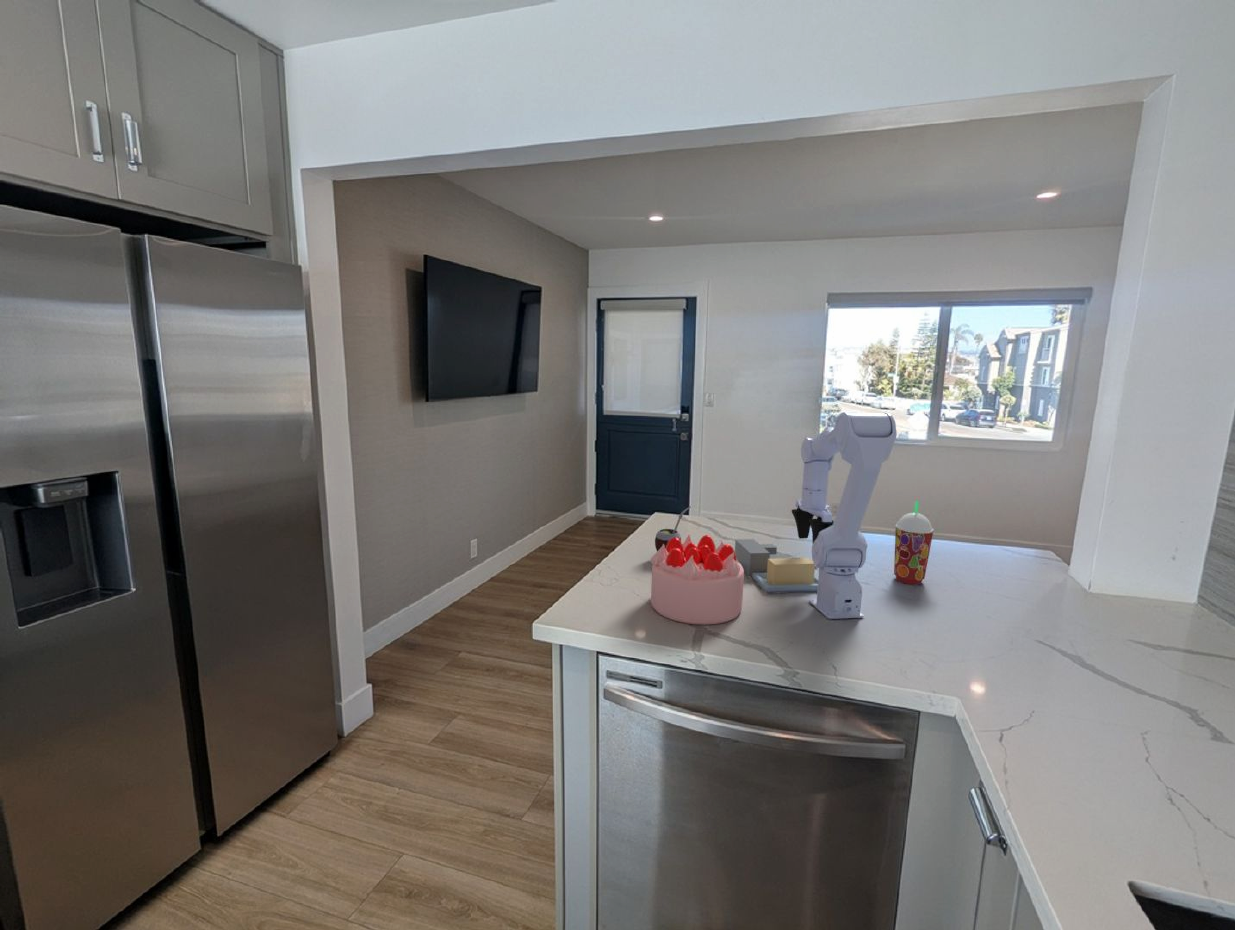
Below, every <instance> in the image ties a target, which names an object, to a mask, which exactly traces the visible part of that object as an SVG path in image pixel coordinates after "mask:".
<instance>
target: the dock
mask: <svg viewBox="0 0 1235 930" xmlns="http://www.w3.org/2000/svg"><path fill="white" fill-rule="evenodd" d="M777 549H778V547H777V546H776V545H774V544H773V543H767V544H766V543H765V544H764V543H762V544H761V543H759V542H758V541H756V540H755V539H754V538H749V539H748V538H746V539H745V538H743V539H740V538H739V539H738V538H737V539H735V542H734V551H735V554H736V557H737V560H738V562H739V563H740V564H741V565H742V567H743V569H744V574H745V573H746V575H747V576H748V577H753V573H767V564H768V559H775V558H791V557H790V556H788V555H787V554H786V553H780V554H779V553H778V552H777V551H778V550H777Z"/></svg>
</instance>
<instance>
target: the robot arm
mask: <svg viewBox="0 0 1235 930" xmlns="http://www.w3.org/2000/svg"><path fill="white" fill-rule="evenodd" d="M823 429H824V430H822V431H821V432H820V433H818V434H817V435H815V437H813V438H809V437H805V438H804V439H803V440H802V443H801V447H800V456H801V460H802V461H803V472H802V486H801V498H796V499H795V507H796V508H794V509H791V514H792V515H793V517H794V521H795V525H796V530H797V536H798V539H799V540H800V539H801V540H803V539H809V538H808V537H809V535H810V530H811V534H812V537H811V538H812V546H811V559H812V561H813V562H814V564H815V566H816V567H817V568H818V577H819V578H818V590H817V593H816V598H809V599H808V602H809V604H811V605H812V606H814V608H816V609H817V610H818V611H819V612H820V613H821V614H823V616H825V617H826V618H827V619H829V620H837V619H839V620H841V619H856V618H857V619H859V618H860V619H861V618H865V615H864V614H863V613H862V612H861V608H862V599H863V597H862V596H863V588H862V585H861V584H860V582H859V581H858V580H857V578H856V573H859V569H862V568H863V566H864V565H865V563H866V560H867V549H868V543H867V540H866V537H865V535H864V534H863V533H862V532H861V531H860V528H861V526H862V523H863V521H864V518H865V516H866V515H865V514H866V512H867V509H868V506H869V504H870V500H871V497H872V495H873V492H874V490H875V486H876V484H877V481H878V478H879V475H880V472H881V469H882V466H883V463H885V462H887V461H888V460H889V459H890V458H889V457H890V455H891V453H892V451H893V447H894V445H895V441H896V439H897V432H898V431H897V424H896V420H895V418H894V416H893V415H892V414H891V413H890V412H883V413H863V412H862V413H861V412H860V413H857V412H852V413H851V412H849V413H848V412H846V411H843V412H841V413H839V415H838V416H837V417H836V419H835V424H834V427H833V426H825V428H823ZM838 453H840V456H841V459H842V460H844V462H847V463H849V464H850V465H851V466H850V469H849V473H848V476H847V479H846V482H845V486H844V488H843V491H842V495H841V498H840V501H839V504H838V506H837V507H838V508H837V511H836V513H835V517H834V520H833V513H832V512H830V511H829V510H831V506H830V505H827V497H828V484H829V475H830V474H829V471H831V470H832V464H833V461H834V459H835V455H837V454H838ZM814 516H815V517H816V518H814Z"/></svg>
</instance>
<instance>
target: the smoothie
mask: <svg viewBox="0 0 1235 930" xmlns="http://www.w3.org/2000/svg"><path fill="white" fill-rule="evenodd" d="M918 510H919V501H915V503H914V511H913V512H908V513H905V514H904V515H902V516H901V517H900V518H899V520H898V521H897V522H896V524H895V529H894V531H895V533H894V534H895V535H894V536H895V537H894V538H895V539H894V567H893V568H894V569H893V574H894V576H895V579H896V581H898V582H899V583H903V584H906V585H911V586H912V585H913V586H915V585H919V584H922V582H923V580H924V579H926V578H925V577H926V572H927V568H928V563H929V562H928V561H929V557H930V553H931V551H930V550H931V546H932V545H931V544H932V541H933V536H934V534H933V533H934V528H933V527H932V526H933V525H932V523H931V521H930V520H929V518H928V517H926V515H923V514H922V513H919V512H918Z"/></svg>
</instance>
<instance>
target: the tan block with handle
mask: <svg viewBox="0 0 1235 930" xmlns="http://www.w3.org/2000/svg"><path fill="white" fill-rule="evenodd" d="M817 568H818V567H817V566H816V565H815V564H814V562H813V560H811V559H810V558H809V557H790V558H775V559H768V564H767V579H766V580H767V581H768V582H769V583H770V584H771V585H797V584H814V574H815V570H818V569H817Z"/></svg>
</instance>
